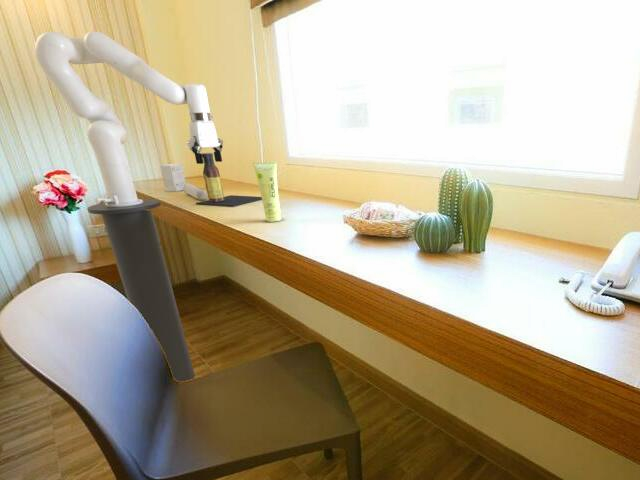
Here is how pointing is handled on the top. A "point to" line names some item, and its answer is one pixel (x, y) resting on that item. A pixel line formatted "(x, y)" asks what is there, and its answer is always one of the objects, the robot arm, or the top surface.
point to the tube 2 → (268, 189)
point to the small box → (173, 177)
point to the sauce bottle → (212, 179)
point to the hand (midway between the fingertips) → (209, 162)
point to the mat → (232, 201)
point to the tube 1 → (194, 191)
